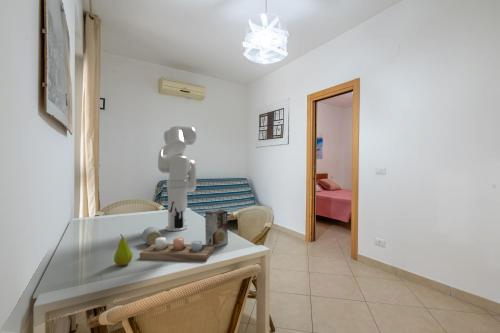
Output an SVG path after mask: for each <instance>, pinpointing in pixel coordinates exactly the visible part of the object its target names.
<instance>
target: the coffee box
mask: <svg viewBox="0 0 500 333" xmlns="http://www.w3.org/2000/svg"><path fill="white" fill-rule="evenodd" d="M204 213H205V216H204V218H205V223H204V224H205V245H214V249H215V248H218V247H222V246H225V245H227V244H228V243H229V239H228V238H229V235H228V233H229V232H228V223H229V222H228V210H224V209H213V210H209V211H205V212H204Z"/></svg>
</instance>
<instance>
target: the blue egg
mask: <svg viewBox="0 0 500 333" xmlns="http://www.w3.org/2000/svg"><path fill="white" fill-rule="evenodd" d="M190 244H191V251H192V252H201V251H202V245H203V241H201V240H193V241H192V242H191V243H190Z"/></svg>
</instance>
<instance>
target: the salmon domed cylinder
mask: <svg viewBox="0 0 500 333" xmlns="http://www.w3.org/2000/svg"><path fill="white" fill-rule="evenodd" d="M172 244H173V250H182V249H184V244H185V238H184V237H177V238H174V239H173V240H172Z"/></svg>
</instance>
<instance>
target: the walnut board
mask: <svg viewBox="0 0 500 333" xmlns="http://www.w3.org/2000/svg"><path fill="white" fill-rule="evenodd" d="M214 251H215V248H214V245H206V244H202V251H201V252H192V251H191V243H189V244H188V243H184V249H182V250H173V243H169V242H168V243H167V242H166V248H165V249H162V250H156V249H155V243H154V244H153V245H151V246H150V245H149V246H148V247H146V248H145V249H143V250H142V251H141V252H139V260H163V261H185V262H186V261H187V262H207V261H208V260H207V259H209V258H210V257H211V255H212V254H213V253H214Z"/></svg>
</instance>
